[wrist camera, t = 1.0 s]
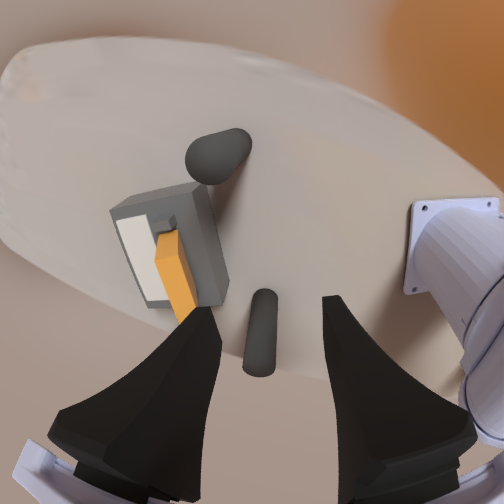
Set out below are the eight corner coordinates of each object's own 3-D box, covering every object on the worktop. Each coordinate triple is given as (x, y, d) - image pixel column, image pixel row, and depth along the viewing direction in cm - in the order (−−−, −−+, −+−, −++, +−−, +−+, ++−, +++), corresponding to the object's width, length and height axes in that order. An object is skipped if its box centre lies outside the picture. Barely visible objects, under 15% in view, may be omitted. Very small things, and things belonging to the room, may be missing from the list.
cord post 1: (249, 125, 16) (229, 130, 9) (254, 156, 16) (239, 180, 10) (217, 131, 16) (180, 141, 10) (223, 161, 17) (191, 189, 11)
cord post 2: (276, 287, 21) (273, 356, 15) (279, 307, 22) (277, 376, 16) (250, 289, 21) (239, 358, 15) (255, 309, 22) (245, 377, 16)
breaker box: (205, 179, 17) (186, 197, 14) (229, 280, 21) (219, 314, 18) (130, 196, 18) (101, 215, 15) (161, 286, 22) (143, 316, 18)
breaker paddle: (177, 229, 16) (178, 254, 12) (195, 285, 17) (200, 318, 14) (158, 234, 15) (154, 261, 12) (178, 289, 17) (179, 324, 14)
